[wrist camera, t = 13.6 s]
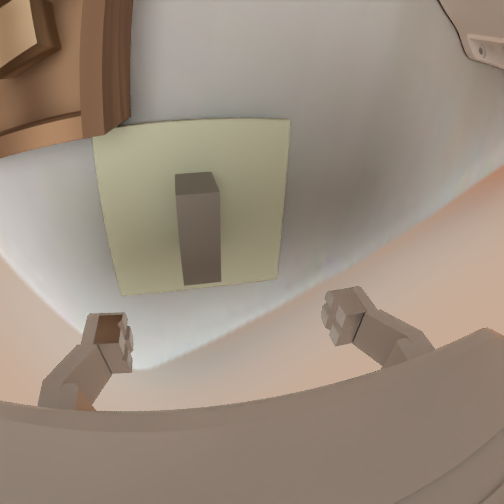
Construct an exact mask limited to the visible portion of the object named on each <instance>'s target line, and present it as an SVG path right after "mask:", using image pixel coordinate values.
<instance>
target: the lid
mask: <svg viewBox="0 0 504 504" xmlns="http://www.w3.org/2000/svg"><path fill="white" fill-rule="evenodd" d="M290 124H291V120H288V119H273V118H210V119H188V120H173V121H161V122H150V123H141V124H132V125H124V126H117V127H115V128H114V129H112V130H111V131H109V132H108V133H107V134H105V135H102V136H96V137H92V141H93V151H94V159H95V168H96V175H97V182H98V189H99V195H100V201H101V207H102V213H103V218H104V223H105V228H106V233H107V238H108V243H109V247H110V252H111V256H112V260H113V264H114V269H115V273H116V276H117V280H118V284H119V288H120V291H121V295H122V296H126V295H137V294H148V293H158V292H168V291H178V290H187V289H197V288H206V287H215V286H224V285H232V284H241V283H249V282H257V281H265V280H273V279H277V271H278V262H279V252H280V242H281V232H282V221H283V210H284V199H285V188H286V176H287V164H288V151H289V138H290Z"/></svg>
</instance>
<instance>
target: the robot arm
mask: <svg viewBox="0 0 504 504" xmlns="http://www.w3.org/2000/svg"><path fill="white" fill-rule="evenodd" d="M439 1H440V3H441V5H442V6H443V8H444V10H445V11H446V13H447V15H448V16H449V18H450V19H451V21H452V22H453V24H454V25H455V27H456V29H457V30H458V32H459V35H460V38H461V41H462V44H463V47H464V50H465V52H466V54H467V56H468V57H469V58H470V59H472V60H476V61H479V62H482V63H486V64H489V65H492V66H495V67H498V68H500V69H503V70H504V0H439ZM325 300H326V303H325V304H324V305H323V307H322V311H321V314H322V321H323V324H324V326H325V327H326V328H327V329H329V330H331V331H330V337H331V339H332V341H333V343H334V345H335V346H339V345H344V344H348V343H353V344H354V345H355V346H356V347H358V348H359V349H360V350H362V351H363V352H364V353H366V354H367V355H368V356H370V357H371V358H372V359H374V360H375V361H376V362H378V363H379V364H380V365H382V366H383V367H382V368H381V370H378V371H375V372H372V373H369V374H366V375H362V376H359V377H355V378H352V379H349V380H345V381H341V382H338V383H334V384H330V385H326V386H322V387H318V388H314V389H310V390H305V391H301V392H296V393H292V394H287V395H282V396H277V397H272V398H266V399H260V400H254V401H248V402H241V403H235V404H227V405H219V406H210V407H201V408H190V409H177V410H161V411H124V412H122V411H120V412H119V411H116V412H115V411H96V410H95V409H94V407H93V406H92V404H93V403H94V401H95V399H96V398H97V396H98V395H99V393H100V392H101V390H102V389H103V387H104V386H105V384H106V383H107V381H108V380H109V378H110V377H111V375H112V374H113V373H131V372H132V357H131V354H130V353H131V352H132V351H133V336H132V331H131V328H130V327H129V326H128V325H127V321H128V319H127V316H126V313H124V312H122V313H98V314H89V315H88V316H87V320H86V324H85V328H84V332H83V337H82V341H81V345H77V346H76V347H75V348H74V349H73V350H72V351H71V352H70V353H69V354H68V355H67V356H66V357H65V358H64V359H63V360H62V361H61V362H60V363H59V364H58V365H57V366H56V368H54V370H53V371H52V372H51V373H50V374H49V375H48V376H47V377H46V378H45V379H44V380H43V382H42V387H41V391H40V396H39V401H38V406H31V405H23V404H17V403H11V402H4V401H0V504H504V336H503V335H501V334H499V333H497V332H495V331H494V330H491V329H489V328H482V329H480V330H478V331H476V332H473V333H471V334H469V335H467V336H465V337H463V338H461V339H459V340H457V341H454V342H452V343H450V344H447V345H445V346H443V347H440V348H438V349H435V348H434V347H433V346H432V344H431V343H430V341H429V340H428V339H427V338H426V336H425V335H424V333H423V332H422V331H420V330H418V329H416V328H414V327H413V326H411V325H409V324H407V323H405V322H403V321H401V320H399V319H397V318H396V317H394V316H392V315H390V314H388V313H386V312H384V311H382V310H377V308H376V307H375V306H374V304H373V303H372V302H371V300H370V299H369V297H368V296H367V295H366V293H365V292H364V291H363V289H362V288H361V287H359V286H356V287H351V288H345V289H339V290H333V291H328V292H327V293H326V296H325Z"/></svg>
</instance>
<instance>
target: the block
mask: <svg viewBox="0 0 504 504" xmlns="http://www.w3.org/2000/svg"><path fill="white" fill-rule="evenodd" d="M61 49H62V48H61V44H60V40H59V35H58V31H57V26H56V21H55V16H54V11H53V6H52V3H51V2H49V1H47V0H12V1H10V2H9V3H7V4H6V5H4V6H3V7H2V8H0V79H9V78H15V77H17V76H18V75H19V74H21V73H22V72H24V71H26V70H27V69H29V68H30V67H32V66H33V65H35V64H37V63H38V62H40V61H42V60H43V59H45V58H47V57H48V56H50V55H52V54H54V53H56V52H57V51H59V50H61Z"/></svg>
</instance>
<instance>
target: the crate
mask: <svg viewBox="0 0 504 504" xmlns="http://www.w3.org/2000/svg"><path fill="white" fill-rule="evenodd" d="M10 1H12V0H0V8H2V7H3V6H4V5H6V4H7V3H9V2H10ZM47 1H49V2H51V3H52V6H53V11H54V16H55V21H56V26H57V31H58V35H59V40H60V44H61V48H62V49H61V50H59V51H57V52H56V53H54V54H52V55H50V56H48V57H47V58H45V59H43V60H42V61H40V62H38V63H37V64H35V65H33V66H32V67H30V68H29V69H27V70H26V71H24V72H22V73H21V74H19V75H18V76H17V77H15V78H9V79H0V158H3V157H6V156H9V155H13V154H17V153H20V152H24V151H28V150H32V149H36V148H40V147H45V146H49V145H53V144H58V143H63V142H68V141H73V140H78V139H84V138H90V137H96V136H102V135H105V134H107V133H108V132H109V131H111V130H112V129H114V128H115V127H116V126H118V125H119V124H120V123H122V122H123V121H125V120H126V119H128V118H129V117H130V116H131V109H130V41H131V21H132V7H133V0H47Z"/></svg>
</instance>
